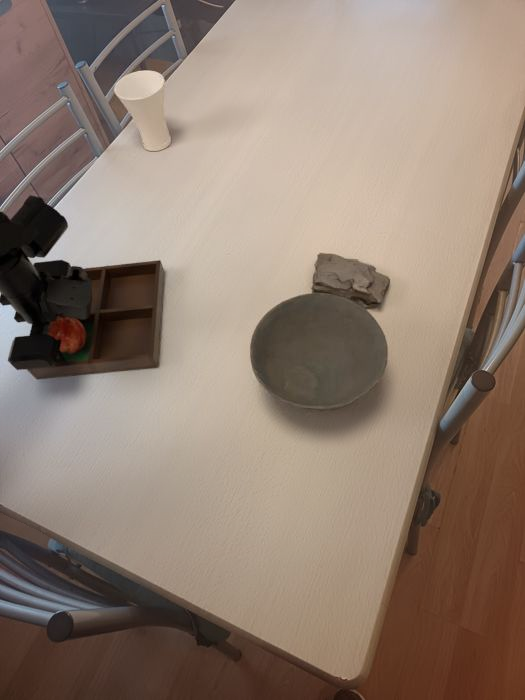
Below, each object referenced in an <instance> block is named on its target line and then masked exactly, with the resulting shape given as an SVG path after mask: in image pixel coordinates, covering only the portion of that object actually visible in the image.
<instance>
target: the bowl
mask: <svg viewBox="0 0 525 700" xmlns="http://www.w3.org/2000/svg"><path fill="white" fill-rule="evenodd" d="M249 344H250V346H249V360H250V365H251V368H252V369H251V370H252V371H253V374H254V376H255V378H256V379H257V382H258V383H259V384H260V386H262V388H263V389H265V390H266V392H267V393H268V394H270V395H271V396H273V397H275V398H276V399H278V400H279V401H281V402H283V403H285V404H287V405H289V406H291V407H294V408H298V409H302V410H306V411H312V412H326V411H332V410H336V409H339V408H342V407H346V406H348V405H350V404H353V403H354V402H357V401H358V400H360V399H361V398H362V397H364V396H365V395H366V394H367V393H369V392H371V391H372V390H373V389H374V387H376V385H377V384H378V383H379V382H380V380H381V379H382V377H383V375H384V374H385V371H386V368H387V364H388V358H389V347H388V342H387V338H386V335H385V333H384V331H383V329H382V327H381V325H380V324H379V323H378V321H377V320H376V318H375V317H374V316H373V315H372V314H371V312H370V311H368V309H366V307H362V306H361V305H360V304H358V303H356V302H355V301H353V300H352V299H349V298H346V297H344V296H339V295H335V294H332V293H327V292H326V293H313V292H311V293H304V294H299V295H296V296H293V297H290V298H288V299H285V300H283V301H282V302H280V303H278V304H277V305H275V306H274V307H272V308H271V309H270V310H268V311H267V312H266V313H265V314H264V315H263V317H261V319H260V320H259V322H258V323H257V325H256V326H255V328H254V330H253V333H252V335H251V340H250V343H249Z"/></svg>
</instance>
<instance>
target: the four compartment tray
mask: <svg viewBox="0 0 525 700" xmlns="http://www.w3.org/2000/svg"><path fill="white" fill-rule="evenodd" d="M83 269H84V271H85V272H86V273H87V275H88V278H90V280H92V281H93V284H92V304H91V310H90V316H89V317H88V318H87V319H78V318H75V319H77V320H79V321H80V323H81V324H82V325H83V327H84V329H85V332H86V342H85V344H84V347H83V349H82V350H81V351H77V352H75V353H72V354H70V353H67V352H61V353H62V354H63V356H64V358H65V360H66V361H65V363H55V364H54V365H53V366H52V367H43V368H33V369H26V371H27V372H28V373H29V374H30V375H31V376H32V377H33V378H35V380H42V379H52V378H61V377H64V378H65V377H73V376H74V377H75V376H82V375H83V376H85V375H93V374H105V373H114V372H123V371H125V372H126V371H134V370H145V369H156V368H159V367H160V366H159V365H160V352H161V351H160V350H161V338H162V337H161V335H162V334H161V333H162V322H163V318H162V317H163V307H164V306H163V305H164V291H165V275H166V271H165V269H164V266H163V264H162V261H161V259H158V260H150V261H142V262H141V261H140V262H132V263H131V262H130V263H122V264H121V263H120V264H113V265H112V264H111V265H104V266H95V267H86V268H84V267H83Z"/></svg>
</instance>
